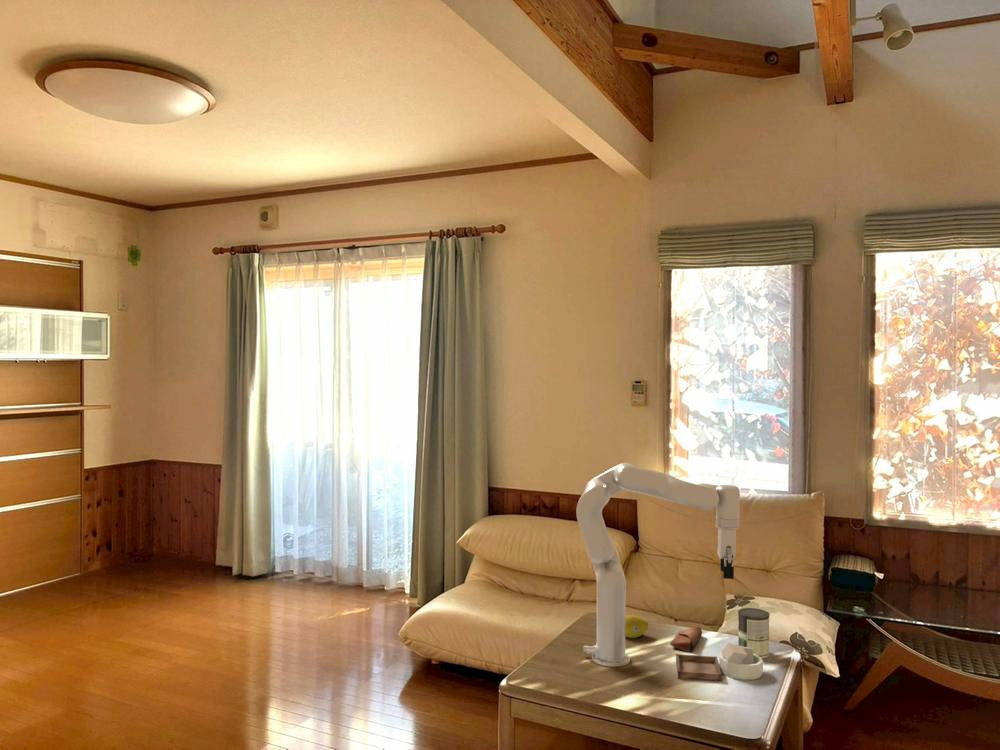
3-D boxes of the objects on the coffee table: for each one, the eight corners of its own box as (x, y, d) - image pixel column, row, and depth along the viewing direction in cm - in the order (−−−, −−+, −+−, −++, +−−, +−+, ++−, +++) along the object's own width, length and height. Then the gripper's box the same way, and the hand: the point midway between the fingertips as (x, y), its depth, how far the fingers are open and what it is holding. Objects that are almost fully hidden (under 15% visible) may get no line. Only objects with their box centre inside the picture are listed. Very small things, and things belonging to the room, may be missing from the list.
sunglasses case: (678, 629, 279) (689, 617, 277) (693, 643, 277) (705, 631, 275) (668, 644, 262) (680, 631, 261) (684, 659, 260) (696, 646, 259)
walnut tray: (678, 678, 237) (678, 671, 237) (675, 660, 252) (675, 653, 252) (721, 681, 234) (721, 674, 234) (716, 663, 250) (716, 656, 250)
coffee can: (732, 653, 259) (732, 612, 259) (746, 646, 267) (746, 606, 267) (761, 661, 252) (761, 618, 252) (774, 653, 259) (774, 612, 259)
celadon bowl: (722, 678, 237) (722, 663, 237) (718, 663, 250) (718, 649, 250) (765, 681, 235) (765, 666, 235) (759, 666, 247) (759, 652, 248)
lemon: (617, 640, 272) (617, 618, 272) (618, 633, 280) (618, 611, 280) (648, 642, 270) (648, 620, 270) (648, 635, 278) (648, 613, 278)
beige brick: (740, 663, 241) (726, 660, 239) (734, 654, 245) (721, 652, 242) (747, 654, 240) (733, 652, 238) (741, 646, 243) (728, 643, 241)
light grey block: (740, 667, 242) (740, 648, 243) (739, 665, 246) (739, 646, 247) (753, 668, 241) (753, 649, 243) (752, 666, 245) (752, 647, 246)
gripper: (713, 517, 259) (712, 567, 259) (718, 527, 242) (717, 580, 242) (736, 519, 257) (735, 569, 257) (742, 528, 240) (741, 582, 240)
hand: (726, 574), depth 249 cm, fingers open, 9 cm apart
